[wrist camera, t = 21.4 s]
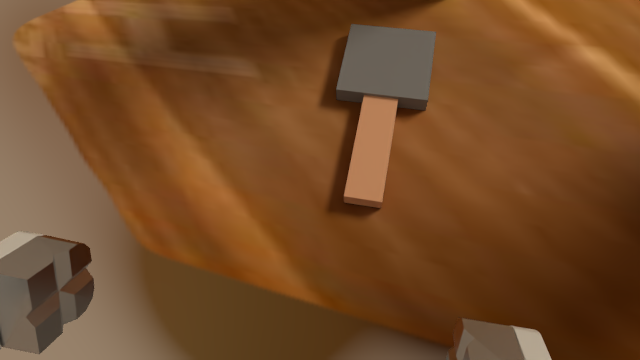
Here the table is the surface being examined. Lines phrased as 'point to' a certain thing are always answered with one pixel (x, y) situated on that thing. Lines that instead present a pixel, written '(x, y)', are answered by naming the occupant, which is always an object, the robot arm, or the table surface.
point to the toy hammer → (381, 98)
